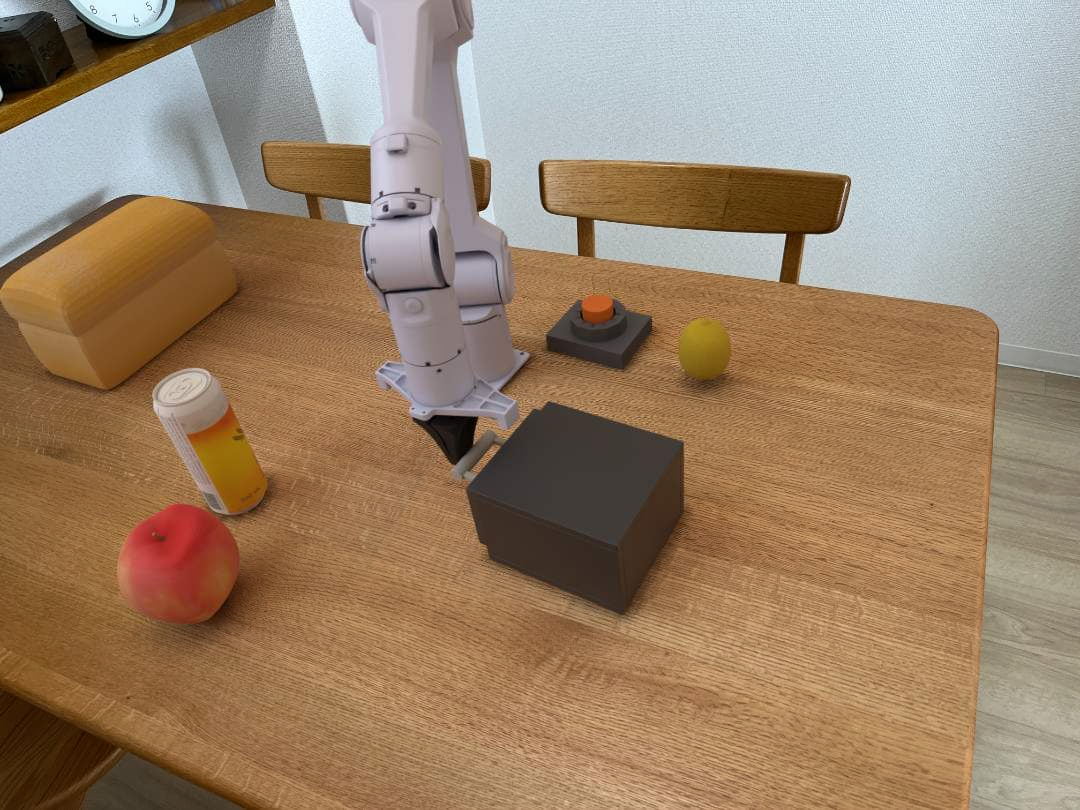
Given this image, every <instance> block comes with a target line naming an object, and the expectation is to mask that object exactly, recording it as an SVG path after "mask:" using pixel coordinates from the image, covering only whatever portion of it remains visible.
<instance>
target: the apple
mask: <svg viewBox="0 0 1080 810" xmlns="http://www.w3.org/2000/svg"><path fill="white" fill-rule="evenodd" d="M239 549H240V548H239V546H238V543H237V540H236V538H235V536H234V534H233V533H232V531H231V530H230V528H228V526H227V525H226V524H225V523H224V522H223V521H222V520H221V519H220V518H218V517H217V516H216V515H214V514H213V513H211V512H210V511H208V510H206V509H204V508H201V507H199V506H196V505H192V504H187V503H174V504H171V505H169V506H167V507H165V508H163V509H162V510H160V511H158V512H156V513H155V514H154V515H151V516H150V517H148V518H146V519H144V520H142V521H140V522H139V523H137V524H136V525H135V527H134V528H132V530H131V531H129V533H128V535H127V536H126V538H125V540H124V541H123V543H122V545H121V548H120V551H119V554H118V558H117V565H116V576H117V584H118V587H119V590H120V593H121V595H122V597H123V598H124V600H125V601H126V602H127V604H129V605H130V607H132V608H133V609H134V610H135V611H137V612H139V613H140V614H142V615H144V616H146V617H148V618H151V619H152V620H153V619H154V620H157V621H161V622H166V623H170V624H179V625H187V624H188V625H192V624H200V623H202V622H205V621H207V620H209V619H210V618H212V617H213V616H214V615H215V614H216V613H217V612H218V611H219V609H220V608H221V607H222V605H223V604H224V603H225V601H226V600H227V598H228V596H229V595H230V593H231V592H232V589H233V587H234V585H235V583H236V580H237V577H238V574H239V569H240V550H239Z"/></svg>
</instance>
